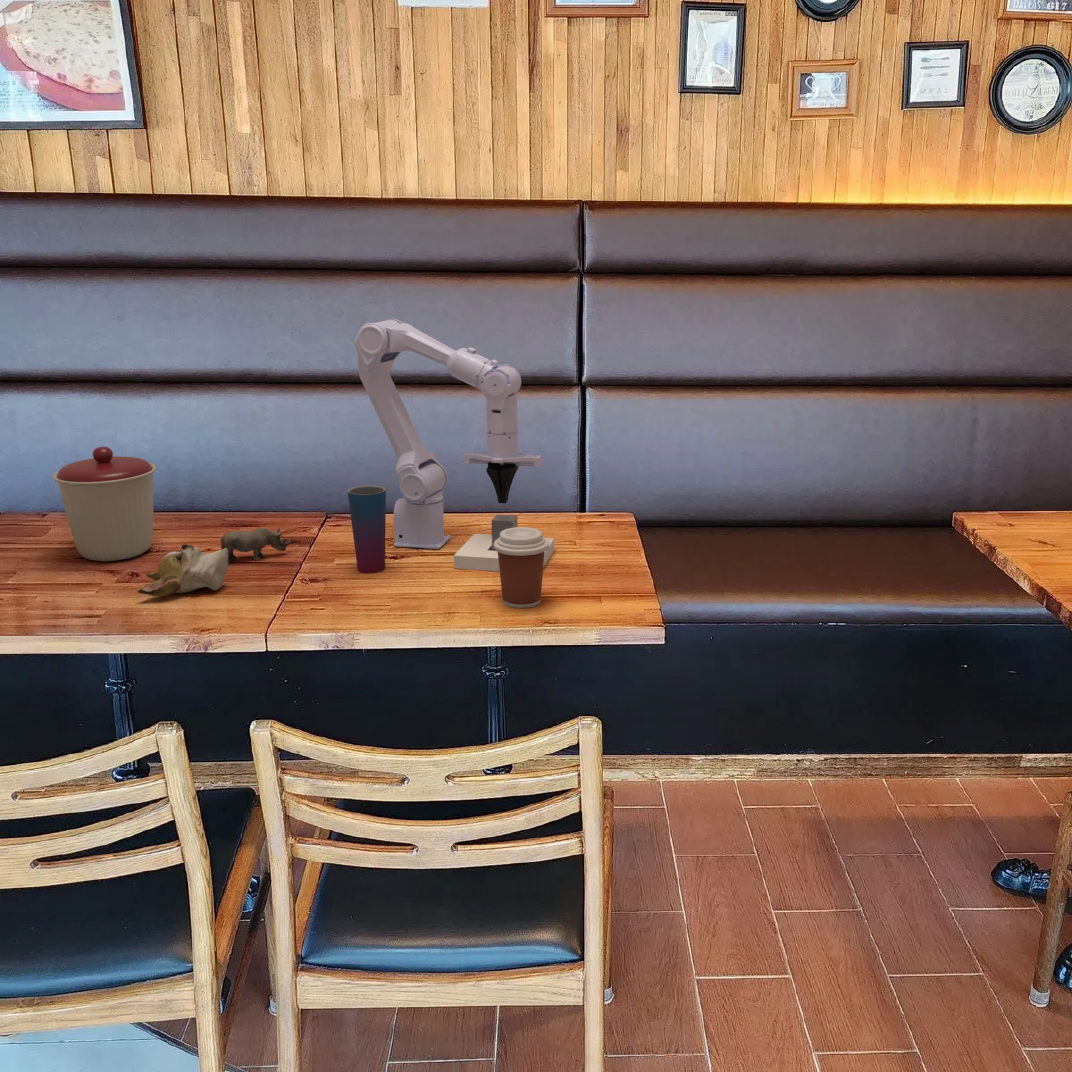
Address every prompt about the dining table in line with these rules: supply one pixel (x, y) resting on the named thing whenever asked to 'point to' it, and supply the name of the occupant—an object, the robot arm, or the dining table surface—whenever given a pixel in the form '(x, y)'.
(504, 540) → the coffee cup
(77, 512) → the canister
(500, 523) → the plug
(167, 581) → the ceramic sculpture
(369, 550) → the cup
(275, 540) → the rhino figurine
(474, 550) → the socket plate
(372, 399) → the robot arm
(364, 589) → the dining table surface
